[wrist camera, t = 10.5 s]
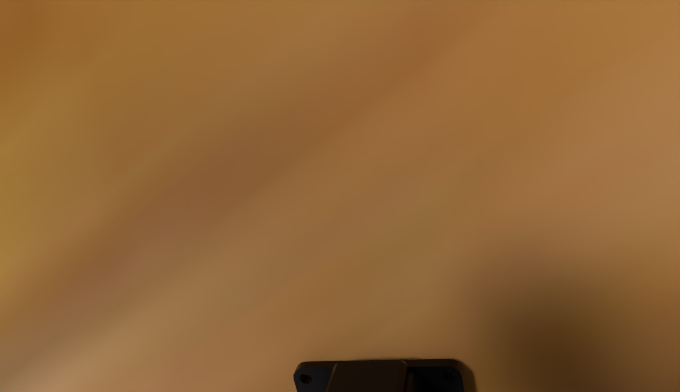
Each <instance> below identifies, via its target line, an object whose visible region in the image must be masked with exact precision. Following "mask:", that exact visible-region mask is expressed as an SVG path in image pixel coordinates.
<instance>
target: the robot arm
mask: <svg viewBox="0 0 680 392" xmlns="http://www.w3.org/2000/svg"><path fill="white" fill-rule="evenodd" d="M444 372H452V373H453V374H454V375H451V376H449V375H446V374H444ZM304 373H305V374H308V375H310V376H311V377H306V376H305V375H304ZM294 382H295V385H296V389H297V392H466V388H465V381H464V375H463V369H462V367H461V365H460V364H459V363H458V362H456V361H454V360H450V359H425V360H370V361H321V362H302V363H300V364H299V365H298V366H297V368H296V371H295V373H294Z"/></svg>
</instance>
